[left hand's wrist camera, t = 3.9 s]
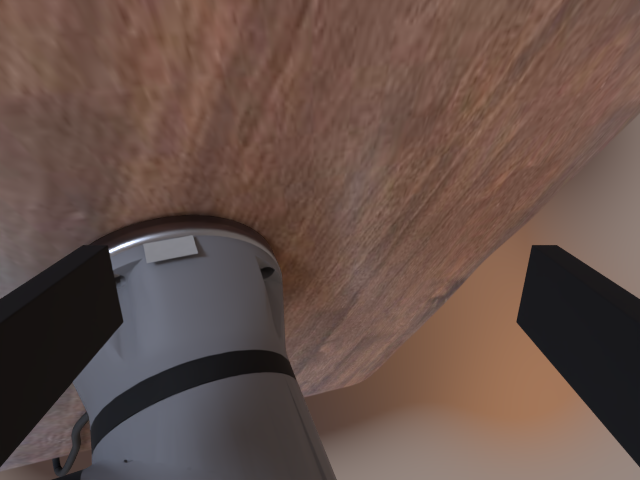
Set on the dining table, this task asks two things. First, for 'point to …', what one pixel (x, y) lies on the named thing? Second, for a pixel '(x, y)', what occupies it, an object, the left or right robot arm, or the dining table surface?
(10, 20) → the dining table surface
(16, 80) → the dining table surface
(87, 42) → the dining table surface
